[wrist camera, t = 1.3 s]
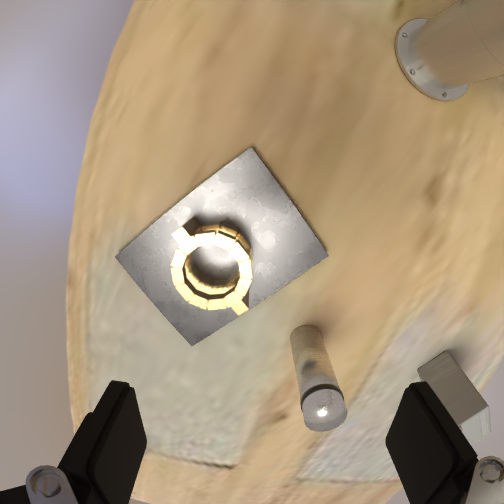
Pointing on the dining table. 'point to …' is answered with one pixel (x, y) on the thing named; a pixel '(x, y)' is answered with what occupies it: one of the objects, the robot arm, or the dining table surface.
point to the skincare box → (458, 396)
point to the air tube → (316, 381)
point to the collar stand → (222, 249)
